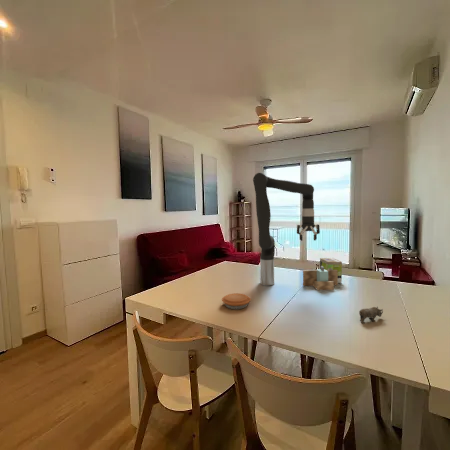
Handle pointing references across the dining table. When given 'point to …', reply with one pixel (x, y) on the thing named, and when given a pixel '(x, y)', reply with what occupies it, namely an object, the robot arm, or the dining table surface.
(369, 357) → the dining table surface
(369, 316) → the rhino figurine
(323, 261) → the tea box
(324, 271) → the tall sage green box
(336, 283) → the wooden stand
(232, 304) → the pie
